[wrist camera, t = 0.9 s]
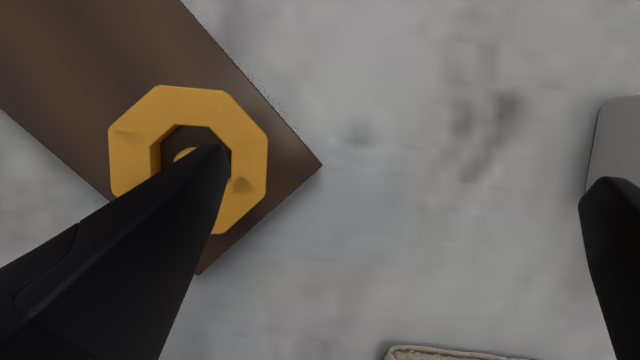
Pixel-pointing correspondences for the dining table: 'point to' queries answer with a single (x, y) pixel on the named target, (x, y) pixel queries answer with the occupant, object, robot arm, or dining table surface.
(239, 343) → the dining table surface
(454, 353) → the washcloth
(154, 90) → the ring
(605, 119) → the grey block
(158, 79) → the peg rack
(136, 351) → the robot arm
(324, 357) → the dining table surface
